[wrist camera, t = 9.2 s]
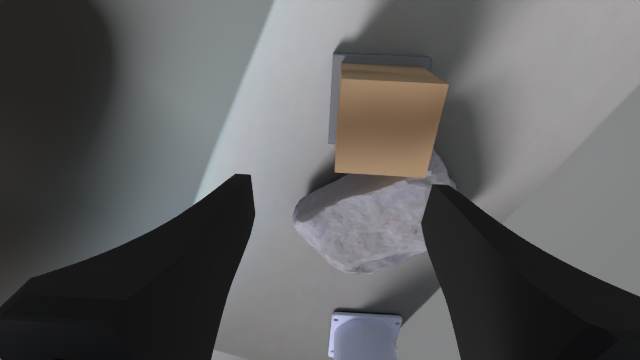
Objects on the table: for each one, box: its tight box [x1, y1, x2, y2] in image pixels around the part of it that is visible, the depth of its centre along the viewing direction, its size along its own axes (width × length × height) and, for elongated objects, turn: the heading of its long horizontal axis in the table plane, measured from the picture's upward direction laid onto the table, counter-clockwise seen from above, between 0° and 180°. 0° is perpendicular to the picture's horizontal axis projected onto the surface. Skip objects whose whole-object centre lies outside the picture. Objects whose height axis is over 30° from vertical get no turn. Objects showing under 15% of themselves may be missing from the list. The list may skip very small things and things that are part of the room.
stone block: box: [292, 148, 457, 274], centre depth 23 cm, size 12×5×10 cm
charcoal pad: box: [328, 53, 432, 144], centre depth 20 cm, size 6×6×1 cm
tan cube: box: [335, 63, 449, 178], centre depth 17 cm, size 5×5×5 cm
